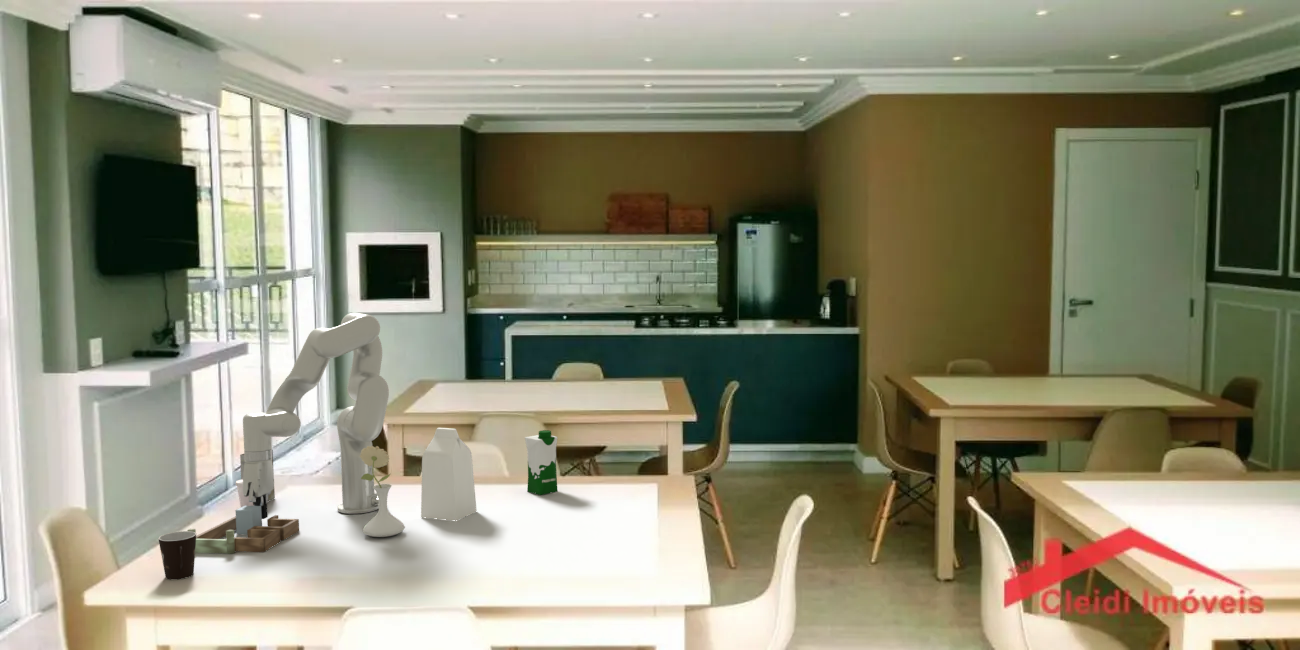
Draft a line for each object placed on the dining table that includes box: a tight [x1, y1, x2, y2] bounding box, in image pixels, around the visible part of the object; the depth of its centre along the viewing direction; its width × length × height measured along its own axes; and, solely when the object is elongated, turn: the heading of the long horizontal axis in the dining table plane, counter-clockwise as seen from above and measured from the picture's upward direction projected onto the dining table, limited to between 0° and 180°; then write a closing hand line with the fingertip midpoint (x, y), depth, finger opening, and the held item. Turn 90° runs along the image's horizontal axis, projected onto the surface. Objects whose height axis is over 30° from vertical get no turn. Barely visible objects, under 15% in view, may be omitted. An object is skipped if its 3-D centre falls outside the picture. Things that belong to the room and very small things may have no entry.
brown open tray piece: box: [186, 514, 300, 555], centre depth 296 cm, size 20×26×6 cm
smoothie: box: [235, 478, 254, 508], centre depth 326 cm, size 6×6×14 cm
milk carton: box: [524, 429, 559, 496], centre depth 345 cm, size 9×9×20 cm
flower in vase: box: [360, 445, 406, 538], centre depth 298 cm, size 13×11×25 cm
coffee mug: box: [157, 530, 197, 580], centre depth 264 cm, size 12×9×10 cm
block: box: [234, 506, 263, 535], centre depth 304 cm, size 5×5×7 cm
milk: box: [420, 427, 478, 522], centre depth 318 cm, size 12×12×26 cm
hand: (261, 518), depth 311 cm, fingers closed
